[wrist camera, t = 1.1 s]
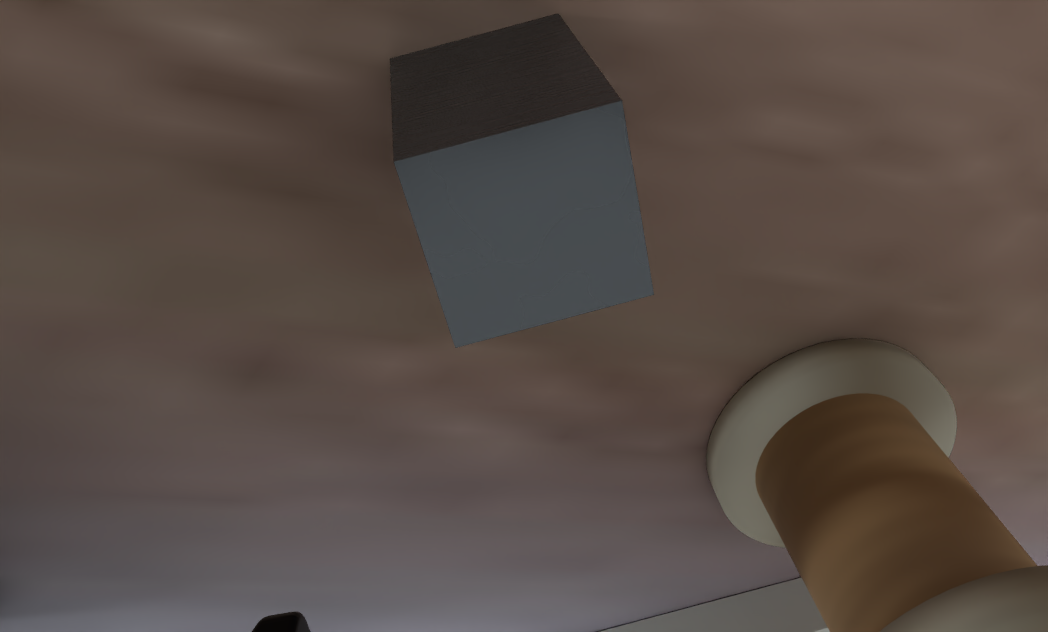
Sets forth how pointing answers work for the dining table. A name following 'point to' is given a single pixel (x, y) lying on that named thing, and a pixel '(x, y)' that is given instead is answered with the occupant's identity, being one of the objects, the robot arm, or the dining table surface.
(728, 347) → the dining table surface
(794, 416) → the bobbin
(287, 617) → the robot arm
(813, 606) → the notched board
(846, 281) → the dining table surface
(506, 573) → the dining table surface
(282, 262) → the dining table surface
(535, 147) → the steel block
